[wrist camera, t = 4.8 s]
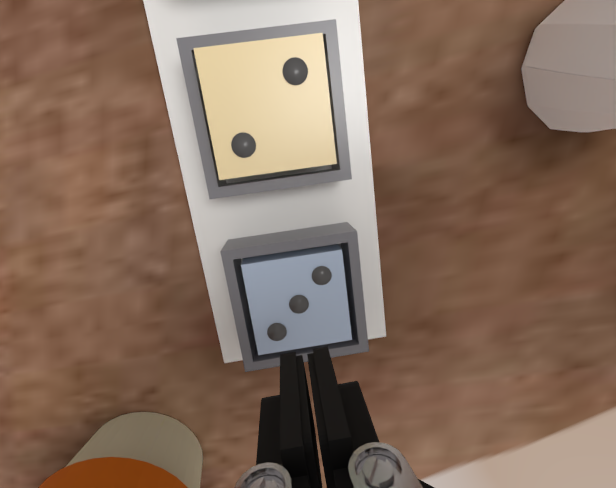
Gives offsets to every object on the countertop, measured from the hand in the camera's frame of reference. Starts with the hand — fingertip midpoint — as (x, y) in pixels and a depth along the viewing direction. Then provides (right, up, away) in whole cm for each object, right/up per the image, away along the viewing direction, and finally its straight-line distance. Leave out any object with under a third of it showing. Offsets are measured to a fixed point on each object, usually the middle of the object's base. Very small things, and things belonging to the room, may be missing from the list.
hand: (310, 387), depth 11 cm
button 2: (-2, +12, +7) cm, 14 cm away
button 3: (-1, +2, +11) cm, 12 cm away
